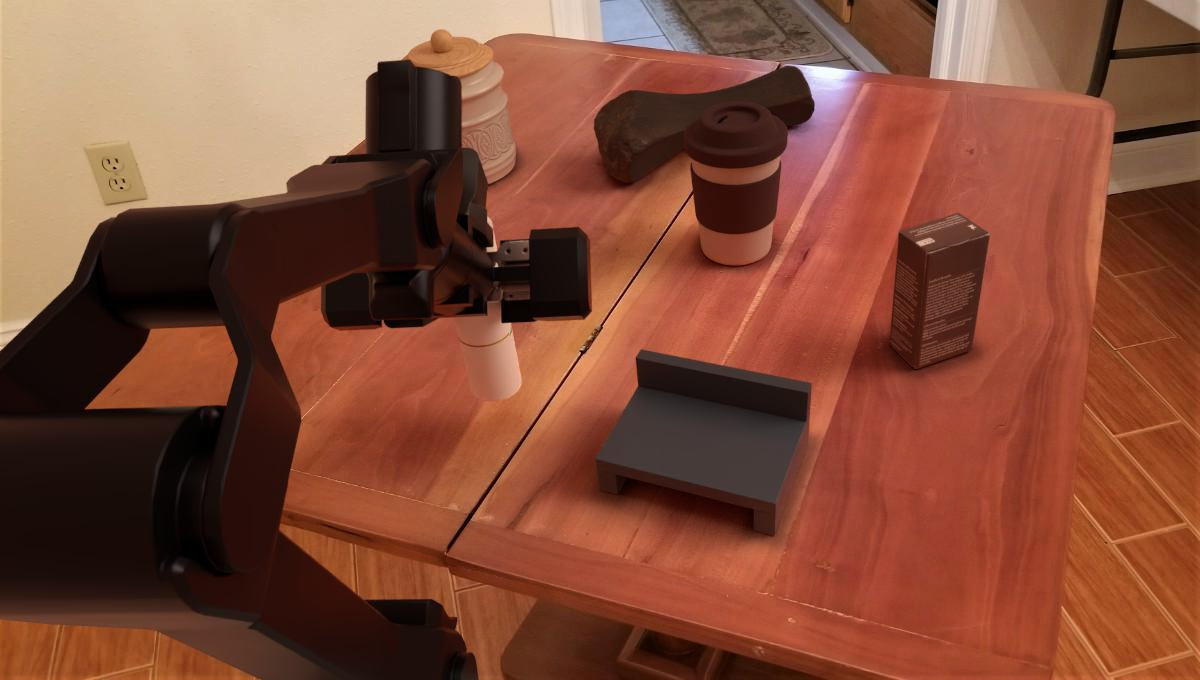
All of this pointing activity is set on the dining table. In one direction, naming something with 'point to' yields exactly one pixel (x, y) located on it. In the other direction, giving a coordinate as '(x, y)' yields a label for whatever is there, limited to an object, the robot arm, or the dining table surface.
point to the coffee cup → (735, 179)
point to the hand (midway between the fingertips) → (483, 300)
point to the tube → (489, 351)
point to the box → (937, 289)
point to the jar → (474, 97)
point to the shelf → (711, 434)
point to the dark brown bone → (685, 118)
